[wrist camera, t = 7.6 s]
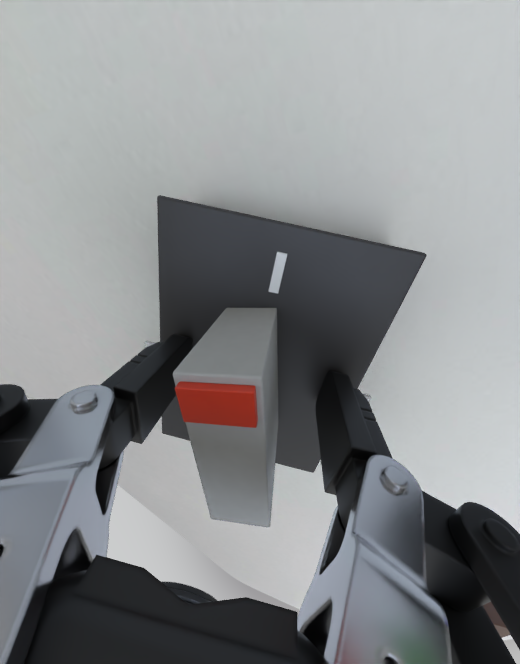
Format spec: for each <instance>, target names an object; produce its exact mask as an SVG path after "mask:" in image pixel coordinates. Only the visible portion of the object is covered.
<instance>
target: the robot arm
mask: <svg viewBox="0 0 520 664" xmlns="http://www.w3.org/2000/svg"><path fill="white" fill-rule="evenodd" d="M191 350H192V339H191V338H190V337H185V336H181V335H177V334H172V335H171V336H170V337H169V338H168V339H167V340H166V341H164V342H163V343H161V342H158V343H155V344H153V345H150V346H148V347H146V348H145V349H144V350H142V351H141V352H140V353H139V354H138V356H137V355H136V356H135V357H134V358H133V359H131V361H130V362H128V363H126V364H125V365H124V366H123V367H122V368H120V369H119V370H118V371H117V372H115V373H114V374H113V375H112V376H111V377H109V378H108V379H107V380H106V381H104V382H103V383H102V384H101V385H89V386H83V387H80V388H77V389H74V390H72V391H70V392H68V393H66V394H64V395H63V396H61V397H60V398H59V399H31V400H28V399H27V397H26V395H25V392H24V390H23V389H22V388H21V387H19V386H16V385H10V384H4V385H0V664H516V663H515V661H514V659H513V658H512V656H511V654H510V652H509V651H508V649H507V647H506V645H505V644H504V642H503V640H502V638H501V637H500V635H499V633H498V631H497V630H496V628H495V626H494V624H493V623H492V621H491V619H490V617H489V616H488V614H487V612H486V610H485V609H484V607H483V605H484V604H487V603H489V602H492V604H493V606H494V607H495V609H496V611H497V613H498V614H499V616H500V618H501V619H502V621H503V623H504V624H505V626H506V628H507V629H508V631H509V633H510V634H511V636H512V638H513V639H514V641H515V643H516V644H517V646H518V647H519V649H520V534H519V533H518V532H517V531H516V530H515V529H514V528H513V527H512V526H511V525H510V524H509V523H508V522H507V521H505V520H504V519H503V518H502V517H500V516H499V515H498V514H496V513H495V512H493V511H492V510H490V509H488V508H486V507H484V506H482V505H480V504H477V503H473V502H467V503H464V504H463V505H462V506H461V507H459V508H458V509H457V510H456V509H454V508H453V507H451V506H449V505H447V504H445V503H443V502H442V501H440V500H438V499H436V498H434V497H432V496H430V495H429V494H427V493H425V492H423V491H422V490H421V488H420V486H419V484H418V482H417V481H416V479H415V478H414V476H413V475H412V474H411V473H410V472H409V471H408V470H407V469H406V468H405V467H404V466H403V465H402V464H400V463H399V462H397V461H396V460H394V459H392V456H391V454H390V451H389V449H388V447H387V444H386V442H385V440H384V437H383V435H382V433H381V430H380V428H379V426H378V423H377V422H376V419H375V416H374V414H373V413H372V409H371V407H370V404H369V402H368V400H367V399H366V397H365V396H364V395H363V394H362V393H361V392H360V390H359V389H354V388H353V386H352V383H351V381H350V378H349V376H348V375H347V374H342V373H338V372H334V371H329V372H328V373H327V375H326V377H325V380H324V382H323V385H322V387H321V390H320V392H319V395H318V397H317V401H316V407H315V412H316V421H317V429H318V438H319V446H320V455H321V464H322V472H323V481H324V489H325V492H326V493H330V494H334V495H336V496H337V502H338V506H337V507H336V509H335V511H334V513H333V517H332V520H331V523H330V526H329V530H328V533H327V536H326V539H325V543H324V546H323V549H322V552H321V556H320V559H319V562H318V565H317V569H316V572H315V575H314V578H313V580H312V583H311V585H310V587H309V589H308V591H307V593H306V596H305V598H304V601H303V603H302V606H301V608H300V611H299V615H298V617H297V612H295V611H292V610H289V609H285V608H282V607H278V606H274V605H271V604H268V603H264V602H260V601H257V600H253V599H250V598H238V599H230V600H222V601H214V602H206V603H199V604H193V603H191V602H188V601H185V600H182V599H181V598H180V597H178V596H177V595H176V594H175V593H174V592H172V591H171V590H170V589H169V588H168V587H166V586H165V585H164V584H163V583H161V582H160V581H159V580H158V579H156V578H155V577H154V576H153V575H152V574H151V573H149V572H148V571H147V570H145V569H144V568H142V567H138V566H134V565H131V564H127V563H124V562H120V561H117V560H113V559H110V558H107V557H106V556H107V549H108V539H109V538H108V537H109V521H110V515H111V510H112V506H113V502H114V497H115V493H116V488H117V484H118V479H119V475H120V470H121V466H122V461H123V456H124V451H123V450H124V449H125V447H126V446H127V445H128V443H129V442H130V441H133V442H137V443H140V444H142V443H143V442H144V440H145V439H146V437H147V436H148V434H149V433H150V432H151V430H152V429H153V427H154V426H155V424H156V423H157V422H158V420H159V419H160V417H161V416H162V414H163V413H164V412H165V410H166V409H167V407H168V406H169V404H170V403H171V402H172V400H173V399H174V397H175V396H176V391H175V387H176V385H175V382H174V378H173V372H174V371H175V369H176V368H177V367H178V366H179V365H180V363H181V362H182V361H183V360H184V358H185V357H186V356H187V355H188V354H189V352H190V351H191Z"/></svg>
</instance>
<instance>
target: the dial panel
mask: <svg viewBox="0 0 520 664" xmlns="http://www.w3.org/2000/svg"><path fill="white" fill-rule="evenodd" d="M157 203H158V252H159V300H160V342H161V343H163V342H164V341H166V340H167V339H168V338H169V337H170V336H171V335H172V334H177V335H181V336H185V337H190V338H191V339H192V349H193V348H194V346H195V345H196V344H197V343H198V342H199V340H200V339H201V338H202V337H203V336H204V334H205V333H206V332H207V331H208V329H209V328H210V327H211V326H212V325H213V323H214V322H215V321H216V320H217V319H218V317H219V316H220V315H221V314H222V313H223V311H224V310H225V309H226V308H277V354H278V432H277V445H276V457H275V463H278V464H282V465H285V466H289V467H293V468H297V469H301V470H305V471H308V472H314V471H315V469H316V467H317V465H318V463H319V461H320V459H321V455H320V446H319V438H318V429H317V421H316V412H315V407H316V401H317V397H318V395H319V392H320V390H321V387H322V385H323V382H324V380H325V377H326V375H327V373H328V372H329V371H334V372H338V373H342V374H347V375H348V376H349V378H350V381H351V383H352V386H353V388H354V389H357V388H358V386H359V384H360V382H361V380H362V379H363V377H364V375H365V373H366V371H367V369H368V367H369V365H370V363H371V361H372V359H373V357H374V356H375V354H376V352H377V350H378V348H379V346H380V344H381V342H382V340H383V338H384V336H385V334H386V332H387V331H388V329H389V327H390V325H391V323H392V321H393V319H394V317H395V315H396V313H397V311H398V309H399V308H400V306H401V304H402V302H403V300H404V298H405V296H406V294H407V292H408V290H409V288H410V286H411V285H412V283H413V281H414V279H415V277H416V275H417V273H418V271H419V269H420V267H421V265H422V263H423V261H424V260H425V258H426V254H425V253H422V252H418V251H413V250H408V249H404V248H399V247H395V246H390V245H385V244H381V243H376V242H372V241H367V240H362V239H358V238H353V237H349V236H344V235H339V234H335V233H330V232H326V231H321V230H317V229H312V228H307V227H303V226H298V225H294V224H289V223H284V222H280V221H275V220H271V219H266V218H261V217H257V216H252V215H248V214H243V213H238V212H234V211H229V210H225V209H220V208H215V207H211V206H206V205H202V204H197V203H192V202H188V201H183V200H179V199H174V198H170V197H165V196H158V198H157ZM153 344H155V343H154V342H150V341H146V342H145V348H146V347H148V346H150V345H153ZM363 395H364V396H365V397H366V399H367V400H368V402H369V401H370V399H371V397H370V395H366V394H363ZM162 433H163V434H167V435H171V436H175V437H178V438H182V439H186V440H190V438H189V434H188V430H187V426H186V423H185V422H184V421H183V417H182V413H181V410H180V406H179V402H178V399H177V395H176V396H175V397H174V399H173V400H172V402H171V403H170V404H169V406H168V407H167V409H166V410H165V412H164V413H163V414H162Z"/></svg>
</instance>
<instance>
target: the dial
mask: <svg viewBox="0 0 520 664" xmlns="http://www.w3.org/2000/svg"><path fill="white" fill-rule="evenodd" d="M173 378H174V382H175V385H176V387H175V391H176V395H177V399H178V402H179V406H180V410H181V413H182V417H183V421H184V422H185V423H186V426H187V430H188V434H189V438H190V441H191V445H192V449H193V453H194V456H195V460H196V464H197V468H198V471H199V475H200V479H201V483H202V486H203V490H204V494H205V498H206V501H207V505H208V509H209V513H210V516H211V519H215V520H222V521H228V522H235V523H242V524H248V525H255V526H262V527H270V521H271V508H272V495H273V483H274V470H275V457H276V445H277V432H278V354H277V308H226V309H225V310H224V311H223V313H222V314H221V315H220V316H219V317H218V319H217V320H216V321H215V322H214V323H213V325H212V326H211V327H210V328H209V329H208V331H207V332H206V333H205V334H204V336H203V337H202V338H201V339H200V340H199V342H198V343H197V344H196V345H195V346H194V348H193V349H192V350H191V351H190V352H189V354H188V355H187V356H186V357H185V358H184V360H183V361H182V362H181V363H180V365H179V366H178V367H177V368H176V369H175V371H174V372H173Z"/></svg>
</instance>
